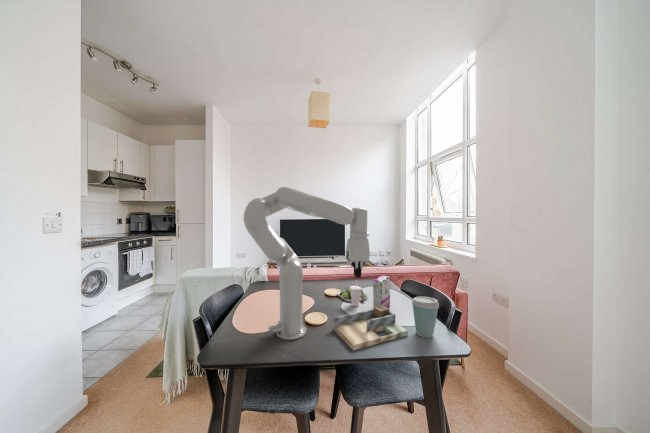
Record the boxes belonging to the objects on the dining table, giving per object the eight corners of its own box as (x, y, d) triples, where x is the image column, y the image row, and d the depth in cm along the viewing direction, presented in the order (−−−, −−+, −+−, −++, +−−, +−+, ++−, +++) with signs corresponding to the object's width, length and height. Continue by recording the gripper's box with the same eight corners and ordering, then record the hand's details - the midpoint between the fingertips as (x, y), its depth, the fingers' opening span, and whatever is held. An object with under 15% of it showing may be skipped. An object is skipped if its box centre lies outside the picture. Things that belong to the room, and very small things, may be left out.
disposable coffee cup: (405, 330, 101) (406, 296, 101) (424, 325, 105) (424, 292, 105) (425, 343, 91) (425, 305, 91) (445, 337, 96) (445, 301, 95)
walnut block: (380, 322, 105) (380, 311, 104) (373, 317, 109) (373, 307, 109) (389, 320, 107) (389, 309, 107) (382, 315, 111) (382, 305, 111)
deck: (353, 350, 87) (353, 335, 87) (333, 329, 102) (333, 316, 102) (407, 335, 97) (407, 322, 97) (382, 318, 113) (382, 306, 113)
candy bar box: (381, 304, 130) (381, 274, 129) (390, 306, 127) (390, 276, 126) (372, 311, 121) (372, 279, 120) (381, 313, 118) (381, 281, 117)
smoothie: (358, 308, 124) (358, 282, 124) (347, 305, 128) (347, 280, 128) (363, 304, 130) (363, 279, 130) (352, 301, 133) (352, 277, 133)
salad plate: (376, 301, 135) (376, 293, 135) (348, 306, 128) (348, 298, 128) (359, 290, 153) (359, 283, 153) (334, 294, 146) (334, 287, 146)
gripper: (368, 234, 110) (367, 273, 111) (339, 235, 105) (338, 276, 105) (377, 236, 103) (376, 277, 104) (347, 236, 98) (346, 280, 98)
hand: (357, 276), depth 104 cm, fingers closed
